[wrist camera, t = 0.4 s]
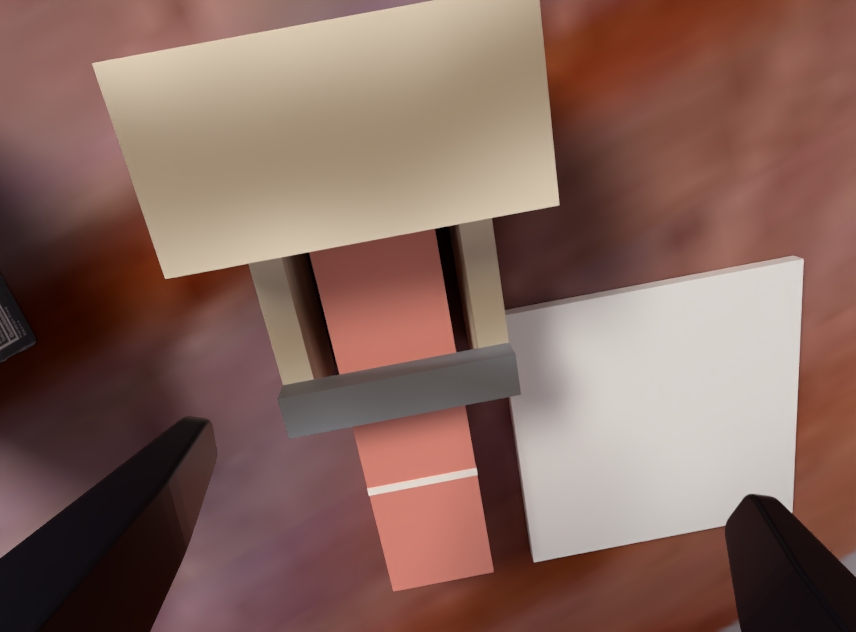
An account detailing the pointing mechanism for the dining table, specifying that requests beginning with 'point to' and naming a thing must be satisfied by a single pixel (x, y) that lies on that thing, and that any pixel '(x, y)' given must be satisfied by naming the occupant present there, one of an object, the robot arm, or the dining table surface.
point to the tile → (656, 405)
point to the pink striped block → (413, 435)
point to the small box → (12, 326)
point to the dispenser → (346, 176)
